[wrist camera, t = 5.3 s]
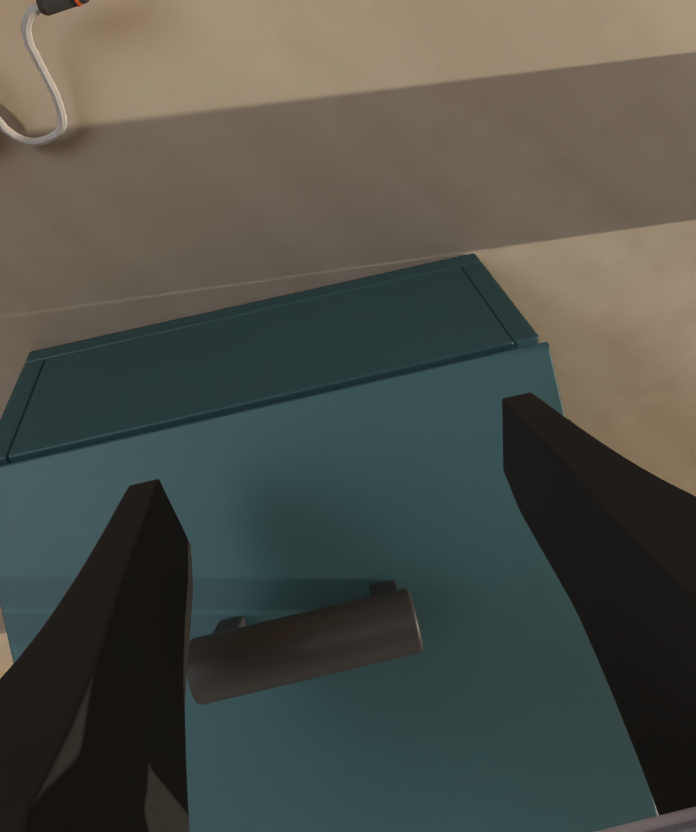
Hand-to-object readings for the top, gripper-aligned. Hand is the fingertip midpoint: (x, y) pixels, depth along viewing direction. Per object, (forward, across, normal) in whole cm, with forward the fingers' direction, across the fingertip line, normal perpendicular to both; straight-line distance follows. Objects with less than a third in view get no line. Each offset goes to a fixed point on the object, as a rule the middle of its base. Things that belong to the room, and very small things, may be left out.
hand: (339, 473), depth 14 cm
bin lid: (0, +2, +7) cm, 7 cm away
